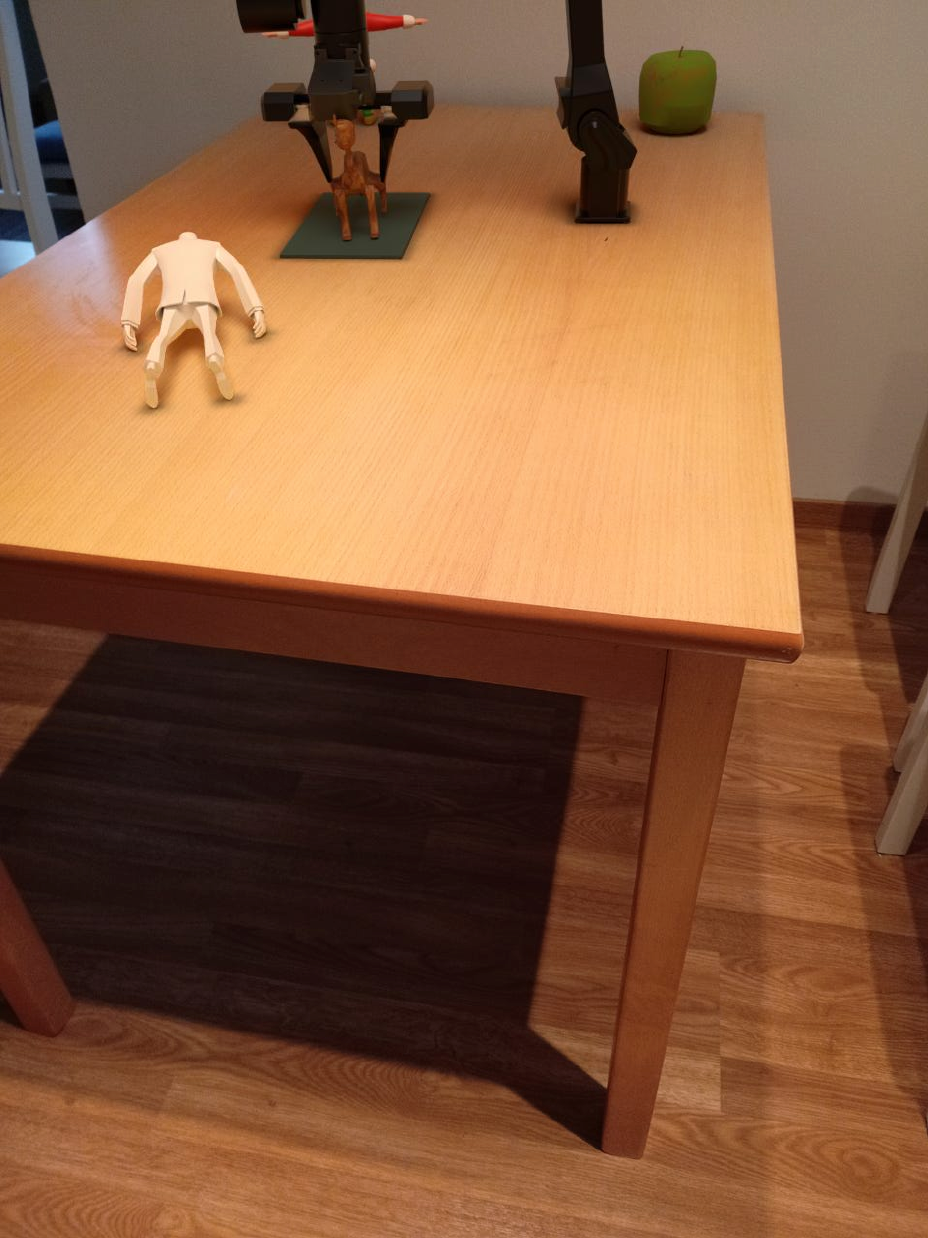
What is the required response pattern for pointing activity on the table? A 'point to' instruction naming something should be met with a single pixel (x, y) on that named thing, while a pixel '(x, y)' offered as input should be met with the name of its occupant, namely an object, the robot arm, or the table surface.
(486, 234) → the table surface
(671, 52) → the apple
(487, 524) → the table surface
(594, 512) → the table surface
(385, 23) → the santa figurine
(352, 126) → the cat figurine
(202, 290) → the male figurine
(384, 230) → the mat
